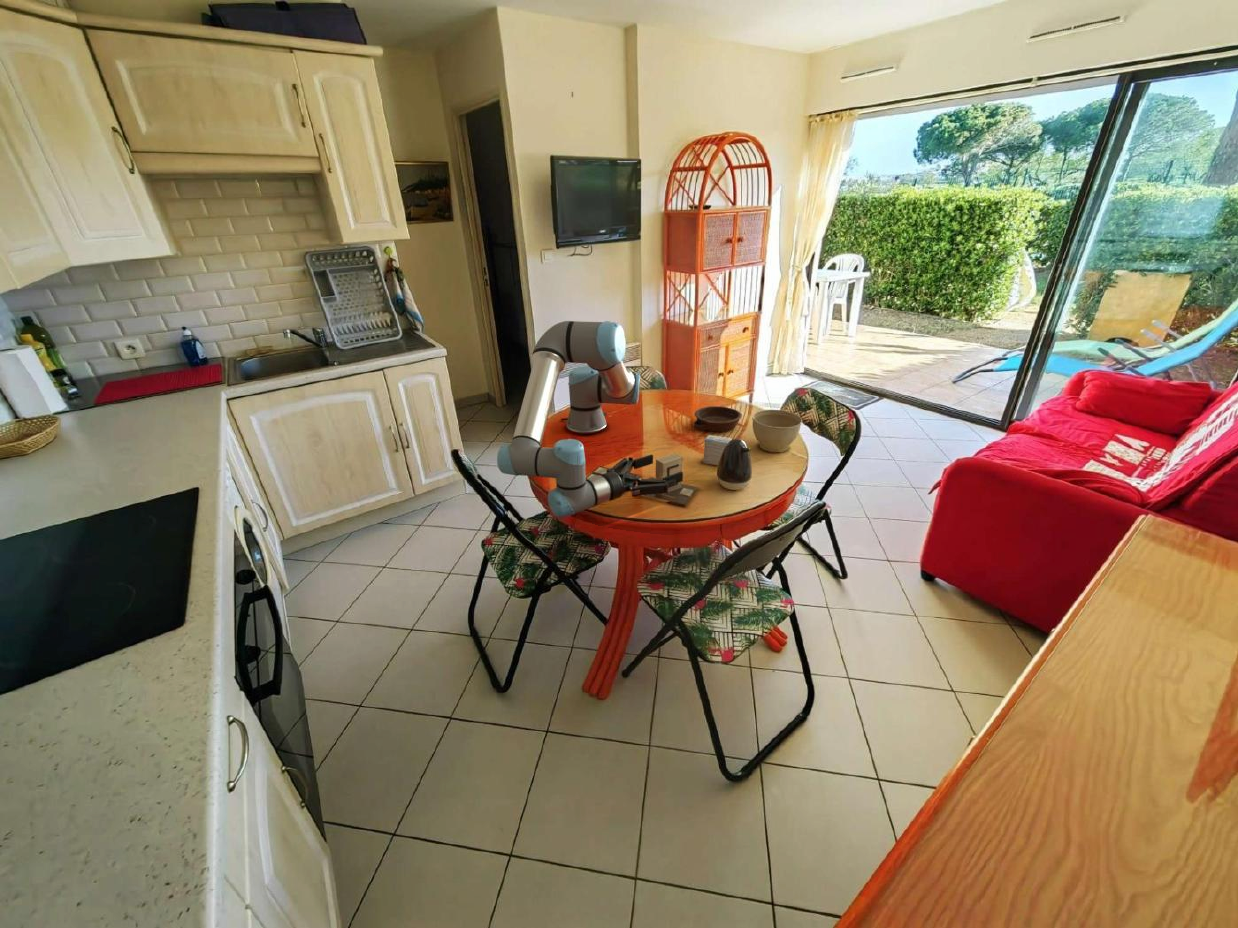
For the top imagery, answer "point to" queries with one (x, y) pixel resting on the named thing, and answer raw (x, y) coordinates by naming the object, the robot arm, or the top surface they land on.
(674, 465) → the small grey cuboid
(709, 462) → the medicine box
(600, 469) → the left mat
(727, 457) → the pump dispenser
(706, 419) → the dish
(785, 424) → the planter bowl
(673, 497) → the right mat
